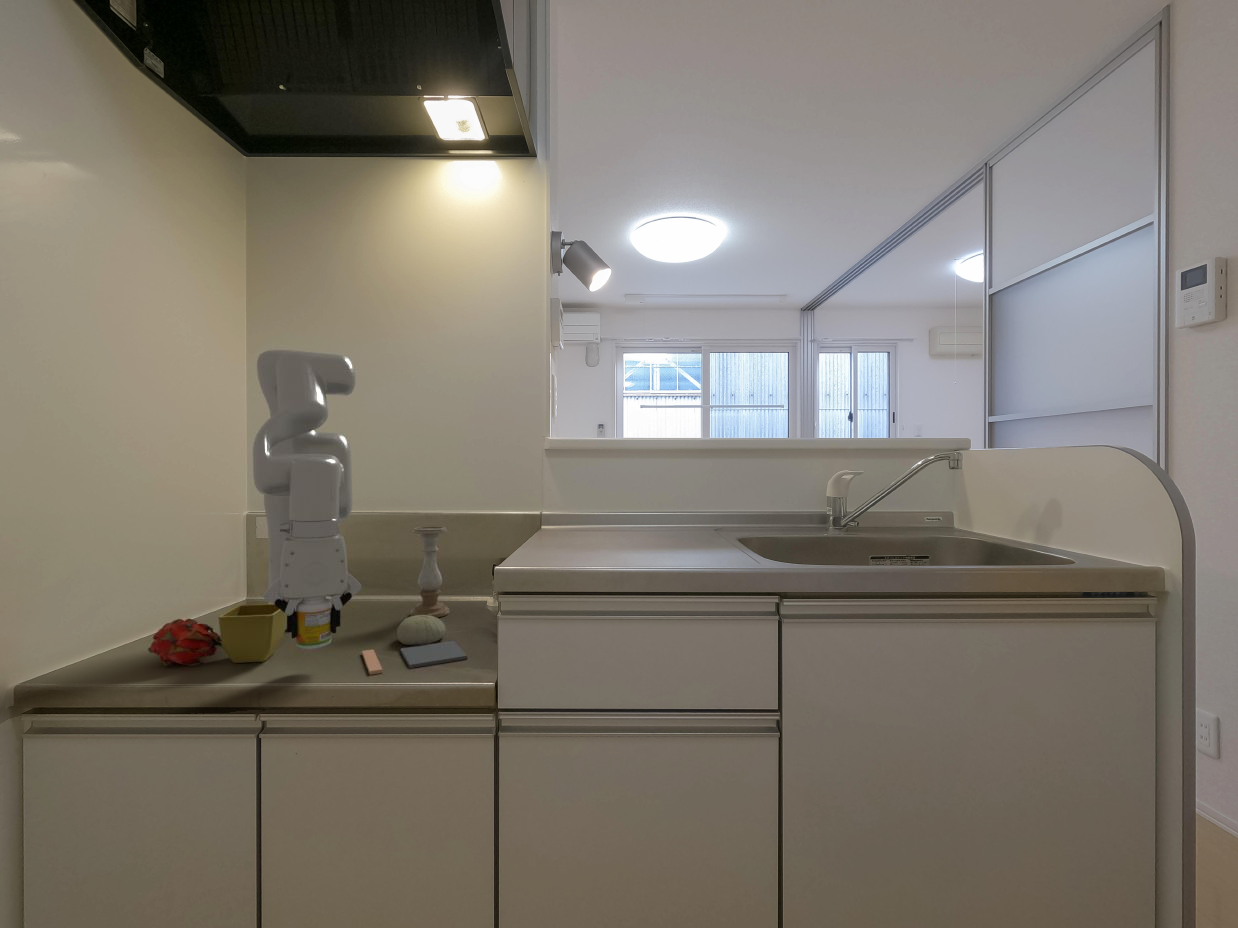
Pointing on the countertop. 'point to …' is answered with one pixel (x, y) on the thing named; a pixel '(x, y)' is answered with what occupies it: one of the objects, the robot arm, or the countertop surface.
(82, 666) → the countertop surface
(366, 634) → the countertop surface
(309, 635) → the supplement bottle
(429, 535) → the candle holder
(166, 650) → the dragon fruit
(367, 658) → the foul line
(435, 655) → the pad
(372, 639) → the countertop surface
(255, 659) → the flower pot
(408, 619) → the sea urchin shell
